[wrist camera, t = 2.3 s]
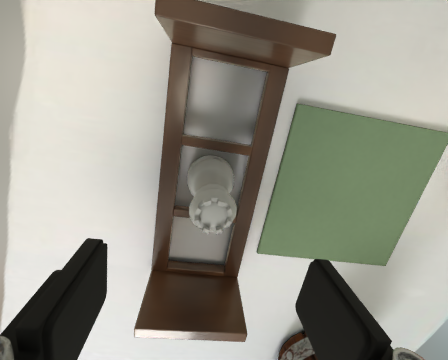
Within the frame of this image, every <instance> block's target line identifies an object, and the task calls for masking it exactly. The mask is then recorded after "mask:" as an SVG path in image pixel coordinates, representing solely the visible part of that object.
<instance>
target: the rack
mask: <svg viewBox="0 0 448 360" xmlns="http://www.w3.org/2000/svg"><path fill="white" fill-rule="evenodd" d="M155 16H156V18H157V19H158V21H159V22H160V24H161V26H162V27H163V29H164V30H165V32H166V34H167V35H168V37H169V38H170V40H171V42H172V46H171V57H170V68H169V80H168V91H167V102H166V113H165V124H164V136H163V147H162V158H161V169H160V181H159V192H158V203H157V214H156V225H155V237H154V248H153V259H152V271H151V274H150V277H149V281H148V284H147V287H146V291H145V294H144V298H143V301H142V304H141V308H140V311H139V314H138V318H137V321H136V324H135V328H134V337H142V338H165V339H189V340H212V341H235V342H245V340H246V337H247V329H246V324H245V318H244V313H243V307H242V301H241V296H240V290H239V285H238V279H237V277H238V273H239V269H240V265H241V261H242V257H243V253H244V248H245V244H246V240H247V236H248V232H249V228H250V224H251V220H252V216H253V212H254V208H255V204H256V200H257V196H258V192H259V188H260V184H261V180H262V176H263V172H264V168H265V164H266V160H267V156H268V152H269V148H270V144H271V140H272V136H273V132H274V128H275V124H276V119H277V115H278V111H279V107H280V103H281V99H282V95H283V91H284V87H285V83H286V79H287V75H288V71H289V68H290V67H293V66H296V65H300V64H303V63H306V62H310V61H313V60H316V59H319V58H323V57H326V56H329V55H330V54H331V51H332V48H333V44H334V41H335V38H336V34H333V33H329V32H325V31H321V30H317V29H313V28H309V27H304V26H300V25H296V24H292V23H288V22H284V21H280V20H276V19H272V18H268V17H264V16H259V15H255V14H251V13H247V12H243V11H239V10H235V9H231V8H227V7H223V6H218V5H214V4H210V3H206V2H202V1H198V0H156V1H155ZM192 56H193V57H198V58H203V59H208V60H212V61H217V62H222V63H227V64H231V65H236V66H241V67H246V68H250V69H255V70H260V71H265V72H267V75H266V79H265V84H264V88H263V93H262V97H261V102H260V106H259V111H258V116H257V120H256V125H255V129H254V134H253V138H252V143H251V145H247V144H241V143H235V142H228V141H222V140H216V139H210V138H204V137H198V136H192V135H186V134H183V130H184V121H185V113H186V104H187V95H188V87H189V78H190V70H191V61H192ZM182 145H185V146H191V147H198V148H204V149H210V150H217V151H223V152H229V153H236V154H242V155H248V156H249V157H248V161H247V166H246V170H245V175H244V179H243V184H242V188H241V193H240V197H239V202H238V207H237V211H236V217H235V218H234V220H233V222H232V223H234V225H233V229H232V234H231V238H230V243H229V248H228V252H227V257H226V261H225V265H216V264H205V263H194V262H182V261H171V260H168V258H169V249H170V240H171V232H172V223H173V216H177V217H186V218H190V215H189V207H186V206H177V205H175V198H176V189H177V181H178V172H179V164H180V155H181V147H182Z"/></svg>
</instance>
